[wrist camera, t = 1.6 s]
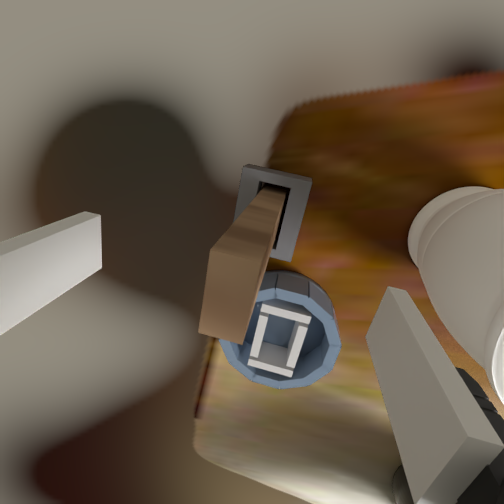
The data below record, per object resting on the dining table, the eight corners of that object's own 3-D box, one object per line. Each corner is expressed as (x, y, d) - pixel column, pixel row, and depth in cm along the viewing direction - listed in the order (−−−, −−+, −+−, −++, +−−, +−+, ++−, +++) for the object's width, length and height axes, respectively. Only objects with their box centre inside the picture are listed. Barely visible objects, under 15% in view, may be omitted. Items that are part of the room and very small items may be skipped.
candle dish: (318, 370, 32) (319, 400, 28) (222, 344, 33) (212, 369, 29) (350, 286, 28) (356, 308, 24) (239, 258, 29) (229, 275, 25)
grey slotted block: (291, 251, 28) (290, 262, 25) (235, 237, 28) (228, 246, 26) (311, 178, 25) (312, 182, 22) (248, 163, 25) (242, 166, 23)
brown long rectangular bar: (277, 232, 27) (242, 344, 12) (256, 227, 27) (198, 332, 13) (287, 190, 26) (261, 262, 11) (265, 185, 26) (210, 249, 11)
